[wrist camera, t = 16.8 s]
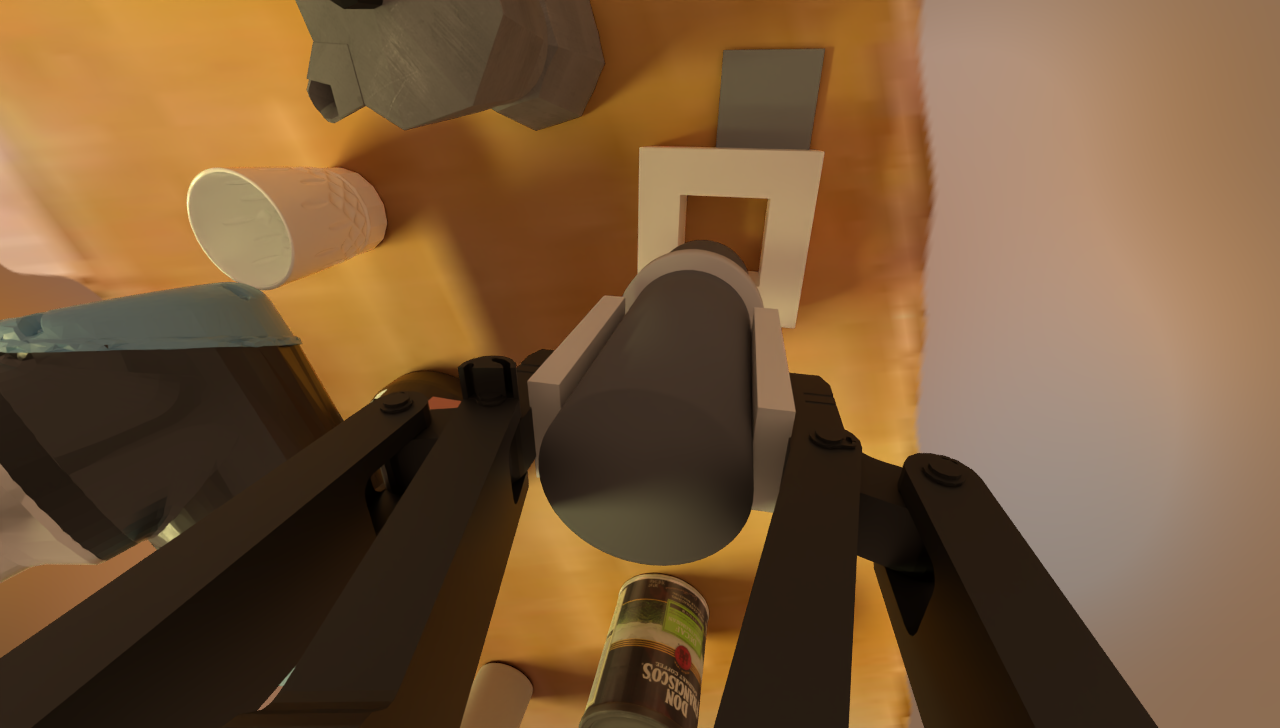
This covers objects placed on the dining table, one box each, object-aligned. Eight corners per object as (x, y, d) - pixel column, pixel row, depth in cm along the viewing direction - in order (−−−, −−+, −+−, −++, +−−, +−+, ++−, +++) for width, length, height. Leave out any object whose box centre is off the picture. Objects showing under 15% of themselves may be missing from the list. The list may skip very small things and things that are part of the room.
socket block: (790, 309, 36) (794, 328, 33) (647, 297, 38) (636, 314, 35) (816, 149, 31) (824, 151, 28) (651, 145, 33) (639, 147, 30)
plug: (754, 347, 23) (762, 601, 10) (642, 337, 24) (527, 559, 11) (769, 231, 20) (802, 380, 8) (644, 225, 21) (502, 350, 9)
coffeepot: (519, 177, 36) (336, 210, 20) (433, 62, 34) (152, -1, 18) (686, 19, 30) (611, -111, 14) (593, -134, 28) (378, -497, 12)
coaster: (807, 157, 32) (808, 158, 31) (715, 155, 33) (715, 155, 32) (823, 50, 29) (825, 48, 29) (724, 51, 30) (723, 50, 30)
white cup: (299, 157, 39) (167, 164, 30) (384, 162, 38) (272, 171, 29) (323, 253, 43) (211, 284, 34) (402, 261, 41) (307, 295, 32)
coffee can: (657, 557, 50) (626, 697, 38) (729, 614, 52) (721, 767, 39) (599, 598, 55) (555, 734, 42) (666, 649, 56) (642, 795, 44)
